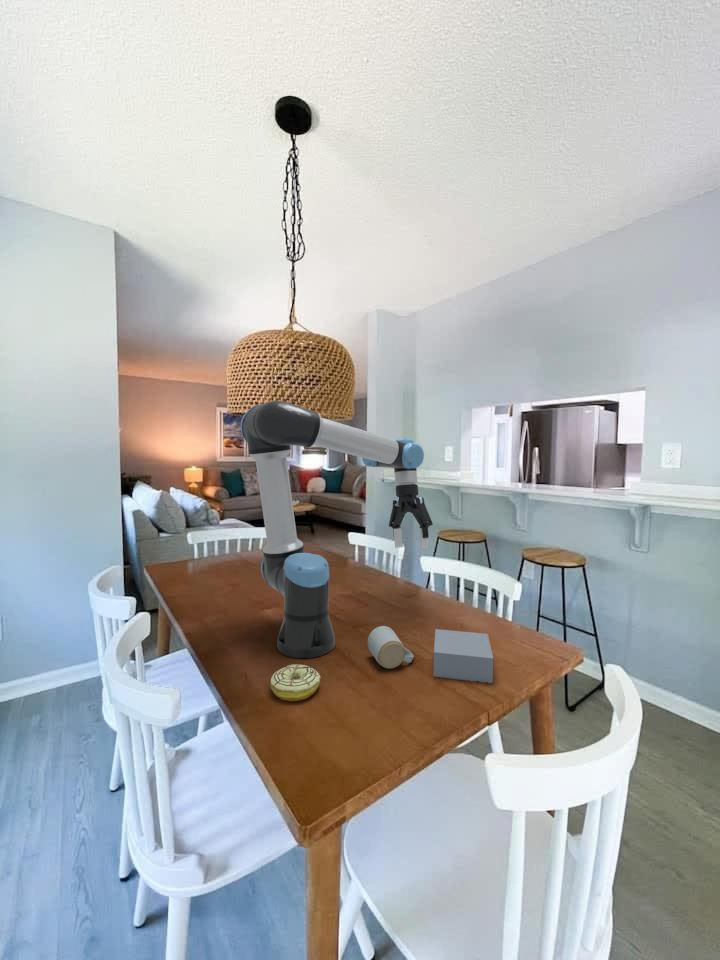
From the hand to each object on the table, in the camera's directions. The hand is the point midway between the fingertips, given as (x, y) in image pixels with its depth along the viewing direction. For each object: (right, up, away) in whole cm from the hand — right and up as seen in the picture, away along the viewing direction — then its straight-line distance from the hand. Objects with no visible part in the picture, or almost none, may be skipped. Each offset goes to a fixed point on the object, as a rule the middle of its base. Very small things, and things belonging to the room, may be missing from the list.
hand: (411, 548), depth 138 cm
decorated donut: (-31, -23, -49) cm, 62 cm away
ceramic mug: (-9, -22, -36) cm, 43 cm away
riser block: (+7, -22, -38) cm, 45 cm away
